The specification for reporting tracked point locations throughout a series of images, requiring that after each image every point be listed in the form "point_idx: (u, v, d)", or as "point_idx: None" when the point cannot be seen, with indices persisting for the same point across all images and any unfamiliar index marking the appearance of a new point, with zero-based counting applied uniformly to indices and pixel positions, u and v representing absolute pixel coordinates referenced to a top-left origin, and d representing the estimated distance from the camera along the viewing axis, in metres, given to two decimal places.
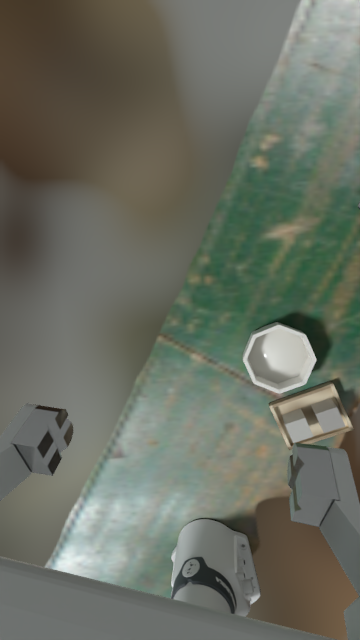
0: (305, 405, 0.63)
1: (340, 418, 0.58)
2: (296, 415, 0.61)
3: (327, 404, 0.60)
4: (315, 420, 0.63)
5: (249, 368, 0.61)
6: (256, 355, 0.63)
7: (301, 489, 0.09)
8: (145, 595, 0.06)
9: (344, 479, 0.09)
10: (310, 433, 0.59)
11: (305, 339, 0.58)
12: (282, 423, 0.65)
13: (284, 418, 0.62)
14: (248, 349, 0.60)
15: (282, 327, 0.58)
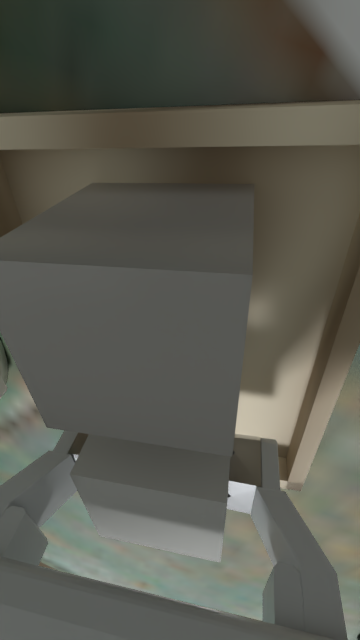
0: None
1: (119, 284, 0.04)
2: None
3: None
4: None
5: None
6: None
7: None
8: (145, 595, 0.06)
9: (270, 467, 0.09)
10: (194, 503, 0.08)
11: None
12: None
13: None
14: None
15: None
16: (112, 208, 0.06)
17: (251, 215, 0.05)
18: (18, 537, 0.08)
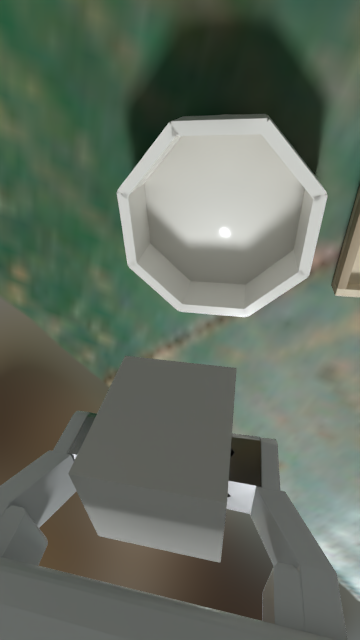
0: None
1: None
2: None
3: None
4: None
5: (206, 308, 0.23)
6: (200, 260, 0.25)
7: None
8: (145, 595, 0.06)
9: (270, 467, 0.09)
10: (194, 502, 0.08)
11: (185, 128, 0.17)
12: None
13: None
14: (159, 290, 0.23)
15: (127, 184, 0.19)
16: None
17: None
18: (18, 537, 0.08)
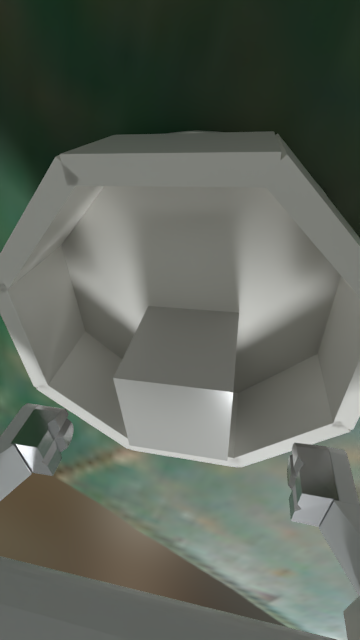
0: None
1: None
2: None
3: None
4: None
5: None
6: None
7: (301, 489, 0.09)
8: (145, 595, 0.06)
9: (344, 479, 0.09)
10: (208, 395, 0.10)
11: (93, 171, 0.07)
12: None
13: None
14: (92, 422, 0.14)
15: (1, 271, 0.10)
16: None
17: None
18: None
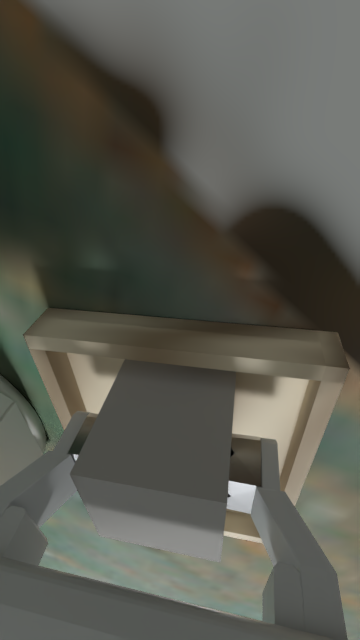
0: None
1: (156, 495, 0.08)
2: None
3: None
4: None
5: None
6: None
7: None
8: (145, 595, 0.06)
9: (270, 466, 0.09)
10: None
11: None
12: None
13: None
14: None
15: None
16: (144, 406, 0.10)
17: (231, 423, 0.09)
18: (18, 537, 0.08)
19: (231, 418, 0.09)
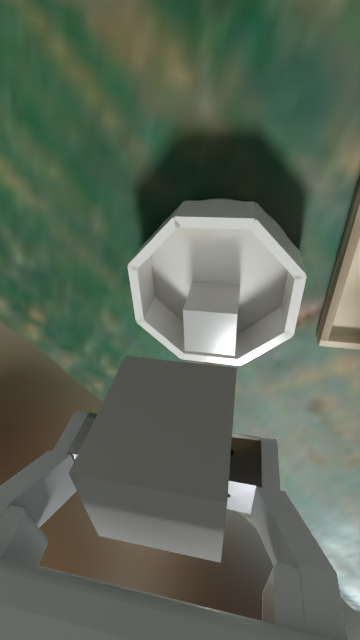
0: None
1: (156, 494, 0.08)
2: None
3: None
4: None
5: (204, 357, 0.27)
6: None
7: None
8: (145, 595, 0.06)
9: (270, 467, 0.09)
10: (226, 316, 0.23)
11: (186, 222, 0.20)
12: None
13: None
14: (163, 341, 0.26)
15: (137, 260, 0.22)
16: (144, 405, 0.10)
17: (231, 422, 0.09)
18: (18, 537, 0.08)
19: (231, 417, 0.09)
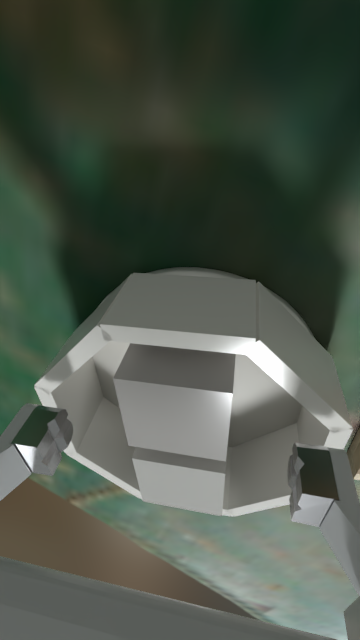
0: None
1: (179, 392, 0.10)
2: None
3: None
4: None
5: None
6: None
7: (301, 489, 0.09)
8: (145, 595, 0.06)
9: (344, 479, 0.09)
10: (206, 474, 0.13)
11: (124, 335, 0.10)
12: None
13: None
14: (111, 479, 0.17)
15: (48, 381, 0.13)
16: None
17: None
18: None
19: None
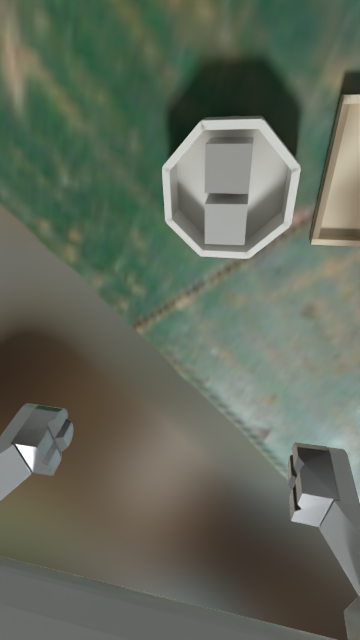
0: (353, 176, 0.30)
1: (232, 147, 0.26)
2: None
3: None
4: None
5: (219, 253, 0.33)
6: None
7: (301, 489, 0.09)
8: (145, 595, 0.06)
9: (345, 479, 0.09)
10: (239, 207, 0.29)
11: (210, 125, 0.27)
12: (359, 234, 0.33)
13: None
14: (187, 239, 0.33)
15: (169, 162, 0.29)
16: (223, 140, 0.28)
17: (252, 140, 0.28)
18: None
19: (252, 139, 0.28)
